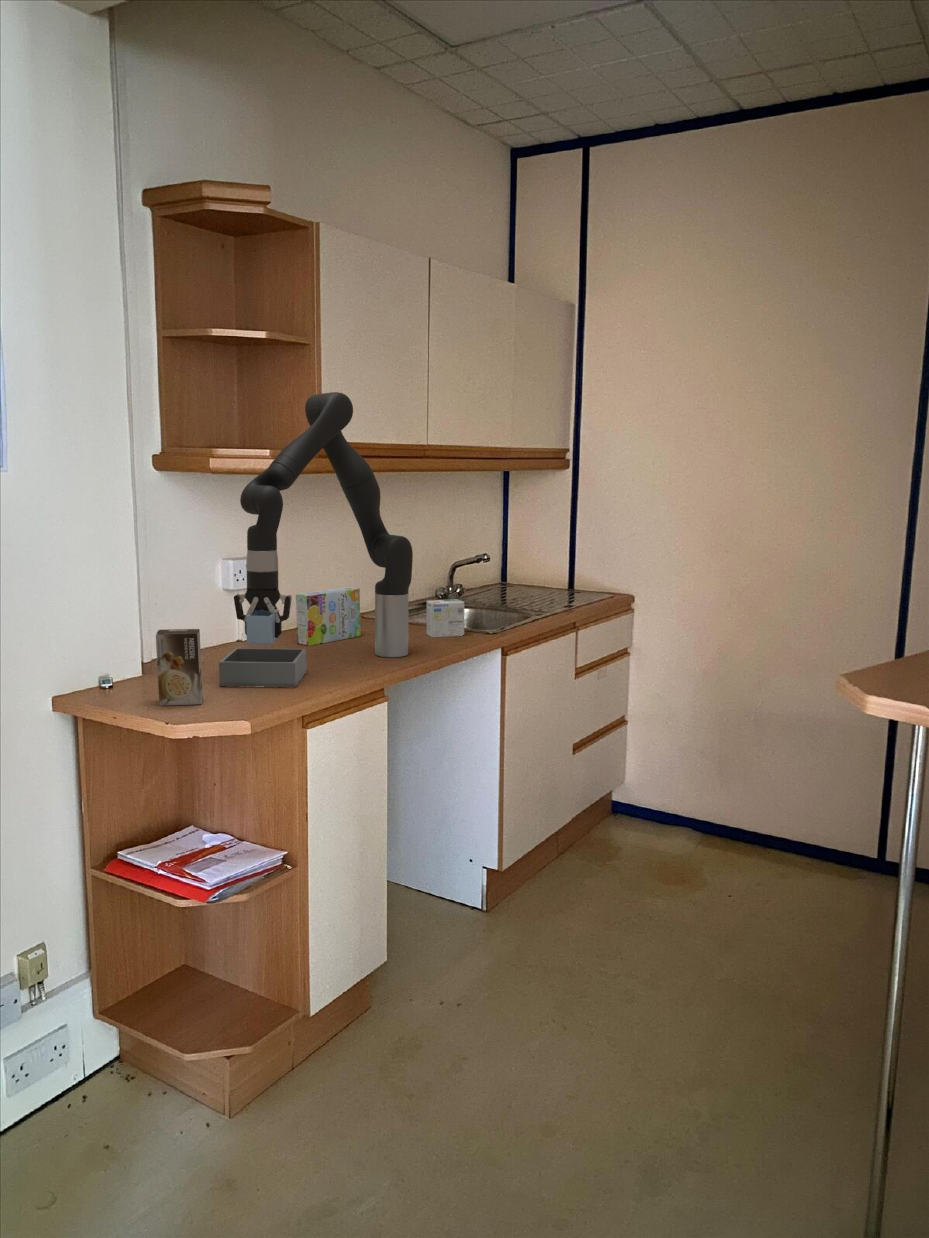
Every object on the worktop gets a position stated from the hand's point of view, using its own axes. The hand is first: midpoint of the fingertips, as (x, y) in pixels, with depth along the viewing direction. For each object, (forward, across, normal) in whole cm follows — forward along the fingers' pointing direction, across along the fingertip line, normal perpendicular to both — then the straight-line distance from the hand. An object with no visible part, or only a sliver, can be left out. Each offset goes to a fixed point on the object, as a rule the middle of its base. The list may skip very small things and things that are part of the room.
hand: (263, 636), depth 238 cm
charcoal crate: (+11, 0, 0) cm, 11 cm away
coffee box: (+11, +14, +23) cm, 29 cm away
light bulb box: (+10, -44, -63) cm, 77 cm away
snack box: (+11, -9, -52) cm, 54 cm away
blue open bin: (+1, 0, 0) cm, 1 cm away
